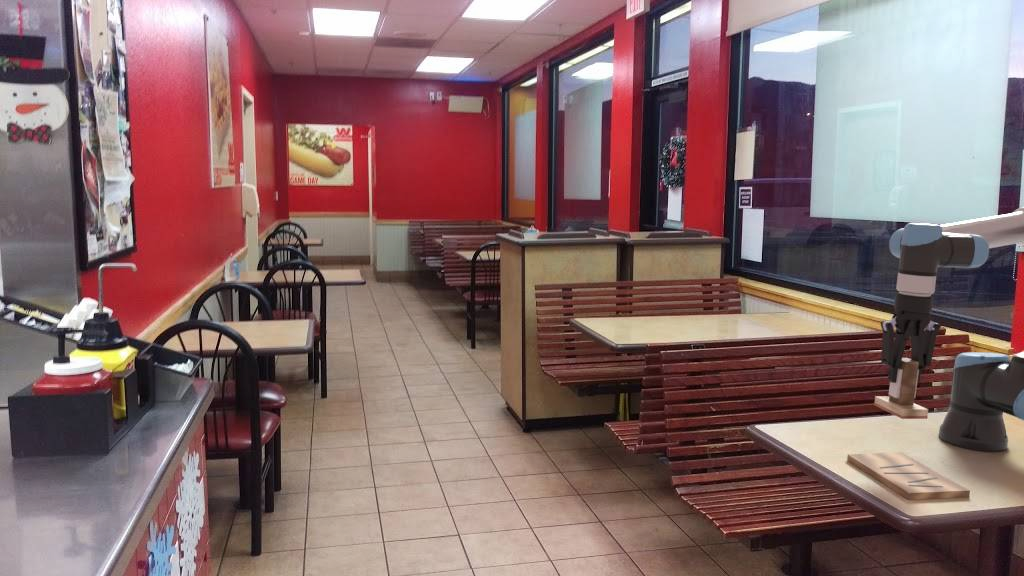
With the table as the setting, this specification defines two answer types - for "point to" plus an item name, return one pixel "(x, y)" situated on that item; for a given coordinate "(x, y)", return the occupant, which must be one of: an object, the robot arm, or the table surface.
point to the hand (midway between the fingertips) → (901, 396)
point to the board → (908, 476)
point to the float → (904, 395)
